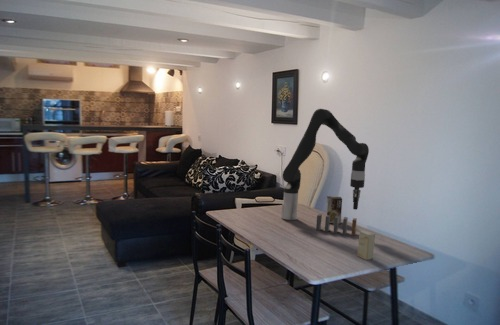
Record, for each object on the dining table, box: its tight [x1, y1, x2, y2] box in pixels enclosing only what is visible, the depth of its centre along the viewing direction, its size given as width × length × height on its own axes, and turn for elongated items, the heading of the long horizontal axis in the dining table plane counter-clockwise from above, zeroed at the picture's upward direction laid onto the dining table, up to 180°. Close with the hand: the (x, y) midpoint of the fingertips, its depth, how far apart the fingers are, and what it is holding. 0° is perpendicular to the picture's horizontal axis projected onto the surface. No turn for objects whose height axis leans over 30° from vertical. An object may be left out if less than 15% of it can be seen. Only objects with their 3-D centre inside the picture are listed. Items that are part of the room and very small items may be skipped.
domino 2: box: [324, 215, 331, 233], centre depth 225 cm, size 2×5×9 cm, turn 159°
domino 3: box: [333, 216, 339, 234], centre depth 223 cm, size 2×5×9 cm, turn 160°
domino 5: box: [351, 217, 358, 237], centre depth 220 cm, size 2×5×9 cm, turn 159°
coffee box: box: [325, 195, 343, 225], centre depth 246 cm, size 9×6×16 cm
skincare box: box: [357, 230, 376, 261], centre depth 182 cm, size 6×4×12 cm
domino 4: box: [341, 216, 349, 236], centre depth 221 cm, size 2×5×9 cm, turn 160°
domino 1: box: [315, 213, 323, 232], centre depth 226 cm, size 2×5×9 cm, turn 159°
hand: (355, 208), depth 219 cm, fingers closed
